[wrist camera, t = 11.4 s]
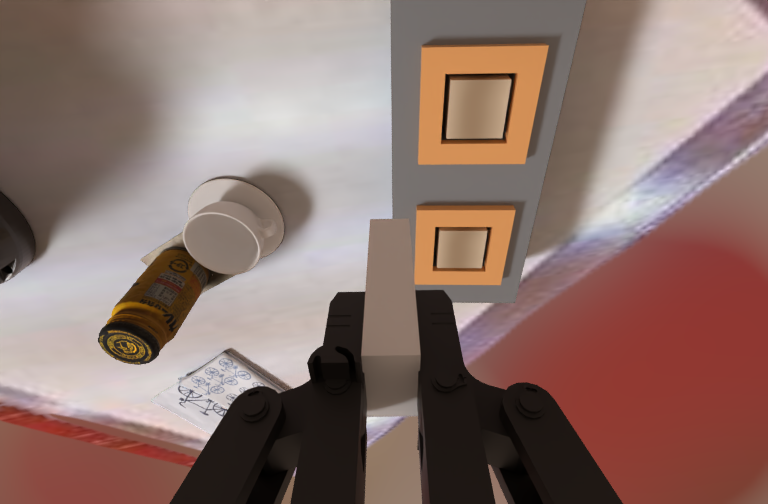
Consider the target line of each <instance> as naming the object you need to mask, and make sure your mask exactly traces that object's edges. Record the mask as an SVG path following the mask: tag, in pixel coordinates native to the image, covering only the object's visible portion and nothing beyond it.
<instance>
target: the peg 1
mask: <svg viewBox="0 0 768 504" xmlns="http://www.w3.org/2000/svg"><path fill="white" fill-rule="evenodd" d="M510 86H511V78H510V77H509V76H508V75H507V74H506V73H483V74H445V87H444V103H443V118H442V123H443V126H444V130H445V134H446V138H447V139H476V138H502V136H503V130H504V124H505V118H506V111H507V105H508V99H509V92H510Z"/></svg>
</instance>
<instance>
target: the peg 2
mask: <svg viewBox="0 0 768 504" xmlns="http://www.w3.org/2000/svg"><path fill="white" fill-rule="evenodd" d="M486 237H487V228H486V227H435V240H434V246H435V254H436V263H437V268H482V263H483V256H484V250H485V244H486Z"/></svg>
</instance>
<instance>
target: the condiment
mask: <svg viewBox="0 0 768 504" xmlns="http://www.w3.org/2000/svg"><path fill="white" fill-rule="evenodd" d="M141 261H142V262H144V263H145V264H146V265H147V266H149V267H148V268H147V269H146V271H145V272H144V273H143V274H142V275H141V276H140V277H139V278H138V279H137V281H136V282H135V283H134V284H133V286H132V287H131V288H130V290H129V291H128V292H127V293H126V294H125V296H124V297H123V298H122V299H121V300H120V301H119V302H118V303H117V304H116V306H115V308H114V309H113V311H112V314H111V315H112V317H111V318H110V319H109V320H108V321H107V324H106V326H104V327H103V328H102V329H101V332H100V333H99V338H98V342H99V344H100V346H101V347H102V349H103V350H104V351H105V352H106V353H107V354H108V355H110V356H111V357H113V358H115V359H116V360H119V361H122V362H124V363H128V364H137V365H140V364H146V363H149V362H151V361H153V360H154V359H155V358H156V357H157V356H158V355H159V352H160V350H161V349H162V348H163V347H164V346H165V344H166V343H167V342H169V341H170V340H172V339H173V338H174V336H175V335H176V333H177V331H178V330H179V328H180V327H181V325H182V323H183V322H184V320H185V319H186V317H187V315H188V313H189V312H190V310H191V309H192V307H193V306H194V304H195V302H196V301H197V299H198V297H199V296H200V295H201V294H202V293H203V292H205V291H207V290H209V289H210V288H212V287H214V286H217V285H218V284H220V283H222V282H224V281H225V280H227V279H229V278H231V277H233V276H235V275H237V274H222V273H218V272H215V271H212V270H210V269H208V268H206V267H204V266H203V265H201V264H200V263H198V262H197V261H196V260H195V259H194V258H193V257H192V256H191V255H190V253H189V252H188V250H187V249H186V247H185V244H184V241H183V232H182V233H180V234H179V235H177V236H176V237H174V238H173V239H171V240H170V241H168V242H166V243H165V244H163V245H162V246H160V247H159V248H157V249H155V250H154V251H152V252H151V253H149V254H148V255H146V256H145V257H143V258H142V259H141ZM212 274H213V275H212Z"/></svg>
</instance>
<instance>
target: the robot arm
mask: <svg viewBox="0 0 768 504" xmlns="http://www.w3.org/2000/svg"><path fill="white" fill-rule="evenodd" d="M34 254H35V242H34V238H33V235H32V232H31V230H30V228H29V226H28V224H27V222H26V221H25V219H24V218H23V216H22V215H21V213H20V212H19V211H18V210H17V209H16V207H15V206H14V205H13V204H12V203H11V202H10V201H9V200H8V199H7V198H6V197H5V196H4V195H3V194H1V193H0V284H1V283H4V282H6V281H8V280H10V279H11V278H13V277H14V276H16V275H17V274H18V273H19V272H20V271H22V270H23V269H24V268H25V267H27V266H28V265H29V264H30V262H31V261H32V259H33V257H34ZM307 364H308V368H309V373H310V378H311V379H310V380H309V381H308V382H306V383H305V384H303V385H301V386H299V387H297V388H294V389H291V390H287V391H284V392H281V393H277V391H276V390H274V389H272V388H270V387H268V386H257V387H254V388H250V389H247V390H246V391H244V392H243V393H241V394H240V395H238V396H237V398H236V399H235V400H234V401H233V402H232V403H231V405H230V407H229V408H228V410H227V412H226V413H225V415H224V416H223V418H222V420H221V421H220V423H219V424H218V426H217V428H216V429H215V431H214V433H213V434H212V436H211V437H210V439H209V441H208V442H207V444H206V446H205V447H204V449H203V450H202V452H201V454H200V455H199V457H198V458H197V460H196V462H195V463H194V465H193V467H192V468H191V470H190V472H189V473H188V475H187V476H186V478H185V480H184V481H183V483H182V484H181V486H180V488H179V489H178V491H177V492H176V494H175V496H174V497H173V499H172V501H171V502H170V504H281V502H282V500H283V497H284V495H285V492H286V490H287V488H288V485H289V483H290V480H291V478H292V476H293V473H294V471H295V468H296V467H297V470H296V475H295V481H294V487H293V493H292V498H291V504H364V501H365V500H364V499H365V476H366V474H365V473H366V451H367V430H366V419H367V417H380V416H418V424H419V428H418V450H419V458H420V474H421V490H422V504H495V499H494V494H493V489H492V483H491V478H490V473H489V469H488V464H489V465H491V466H492V468H493V471H494V473H495V475H496V478H497V480H498V482H499V484H500V487H501V489H502V491H503V493H504V496H505V498H506V500H507V502H508V504H623V503H622V502H621V500H620V499H619V497H618V496H617V494H616V493H615V491H614V489H613V488H612V486H611V485H610V483H609V482H608V480H607V479H606V477H605V476H604V474H603V473H602V471H601V470H600V468H599V467H598V465H597V463H596V462H595V460H594V459H593V457H592V456H591V454H590V453H589V451H588V450H587V448H586V447H585V445H584V444H583V442H582V441H581V439H580V438H579V436H578V435H577V433H576V432H575V430H574V428H573V427H572V425H571V424H570V422H569V421H568V419H567V418H566V416H565V415H564V413H563V412H562V410H561V409H560V407H559V406H558V404H557V403H556V401H555V400H554V399H553V398H552V396H551V395H550V394H549V393H548V392H547V391H546V390H544V389H542V388H541V387H539V386H537V385H534V384H530V383H516V384H513V385H511V386H509V387H508V388H507V390H504V389H501V388H497V387H494V386H489V385H487V384H485V383H482V382H480V381H479V380H477V379H475V378H474V377H473V376H472V375H471V374H470V373H469V372H468V370H467V369H466V367H465V365H464V362H463V358H462V352H461V347H460V342H459V337H458V331H457V326H456V321H455V316H454V310H453V305H452V300H451V299H450V298H449V296H448V295H447V294H446V293H445V291H444V290H415V282H414V270H413V259H412V247H411V235H410V223H409V219H370V231H369V246H368V261H367V276H366V291H365V292H338V293H337V294H336V296H335V297H334V299H333V300H332V301H331V303H330V307H329V313H328V319H327V325H326V331H325V337H324V343H323V346H321V347H319V348H317V349H316V350H315V351H314V352H313V353H312V354H311V356H310V358H309V360H308V363H307Z"/></svg>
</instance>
